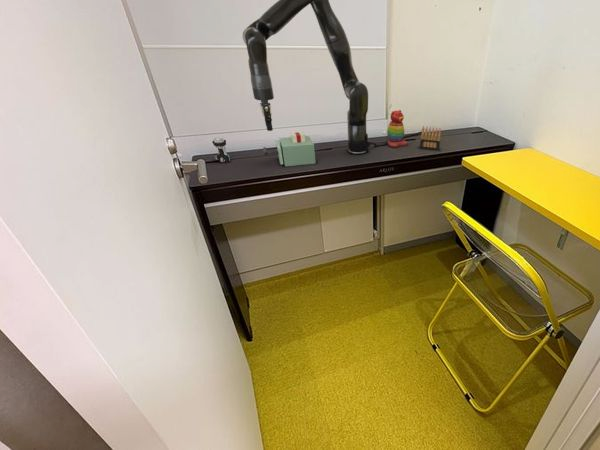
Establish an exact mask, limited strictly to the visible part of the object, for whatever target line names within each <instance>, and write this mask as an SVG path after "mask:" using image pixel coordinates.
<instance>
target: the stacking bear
mask: <svg viewBox="0 0 600 450" xmlns="http://www.w3.org/2000/svg"><path fill="white" fill-rule="evenodd" d="M404 118H405V115H404V114H403V112H402V110H401V109H399V110H393V111H391V113H390V122H389V124H388V125H387V130H386V131H387V132H386V134H387V140H386V141H387V142H388V144H387V146H389V147H391V148H398V147H402V146H403V147H405V146H407V145H408V142H407V141H406V139H405V140H404V138H403V137H404V136H405V125H404V123H403V121H404ZM387 142H386V143H387Z"/></svg>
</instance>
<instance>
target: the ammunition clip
mask: <svg viewBox="0 0 600 450" xmlns="http://www.w3.org/2000/svg"><path fill="white" fill-rule="evenodd" d="M421 132H422V133H420V141H419V142H420V143H419V149H422V150H423V149H424V150H431V151H440V144H441V137H442V136H441V135H442V128H441V127H439V129H438V127H436V128H435V127H434V126H433V127H431V126H429V127H428V126H426V127H425V126H424V125H423V126H422V128H421Z"/></svg>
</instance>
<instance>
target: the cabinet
mask: <svg viewBox="0 0 600 450" xmlns="http://www.w3.org/2000/svg"><path fill="white" fill-rule="evenodd" d="M278 139H279V140H278V141H279V144H280V147H281V152H282V158H283V166H284V167H286V168H287V167H295V166H303V165H304V166H305V165H315V164H316V162H317V160H316V153H315V152H316V151H315V144H314V142H313V140H312V138H311V137H310V136H309V135H305V141H306V142H300V143H293V142H292V140H291V136H290V137H279V138H278Z"/></svg>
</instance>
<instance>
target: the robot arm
mask: <svg viewBox="0 0 600 450" xmlns="http://www.w3.org/2000/svg"><path fill="white" fill-rule="evenodd" d="M309 5H310V6H311V9H312V10H313V12H314V15H315V18H316V21H317V24H318V26H319V29H320V32H321V34H322V37H323V39H324V42H325V45H326V48H327V50H328V53H329V55H330V57H331V60H332V62H333V64H334V66H335V69H336V70H337V72H338V76H339V78H340V82H341V85H342V89H343V92H344V96H345V97H346V98H347V99H348V101H349V105H348V107H349V108H348V110H347V111H346V119H347V151H348V153H349V154H352V155H363V154H366V153H368V152H369V148H371V145H374V147H383V146H386V145H388V142H384V143H379V144H377V143H376V142H375V141H374V142H373V141H370V140H369V134H368V133H367V114H368V112H369V111H368V110H369V90H368V87H367V86H366V84H365V83H362V82H361V81H359V78H358V76H357V74H356V72H355V68H354V66H353V58H352V57H353V56H352V49H351V46H350V45H351V44H350V42H349V40H348V39H349V38H348V36H347V34H346V31H345V29H344V27H343V25H342V23H341V21H340V20H339V19H338V17H337V15H336V14H335V12H334V10H333V8H332V6H331V3H330V0H277V1H276V2H275V3H273V4H272V5H271V6H270V7H269V8H267V10H266V11H264V12H263V14H262V15H261V16H260V17H259V18H257V19H256V20H255V21H253V22H252V23H250V24H249V25H247V27H246V28H244V30H243V31H242V40H243V43H244V44H245V46H246V50H247V56H248V60H247V62H248V69H249V73H250V83H251V88H252V93H253V98H254V100H256V101H260V102H259V106H260V109H261V113H262V117H264V123H265V127H266V131H267V132H272V131H273V130H274V128H273V124H272V123H273V122H272V121H273V118H272V114H273V113H272V105H271V102H269V101H271V100H274V98H275V96H274V89H273V83H272V78H271V75H270V68H269V63H268V47H267V40H268V39H270V37H272V36H275V35H276V34H278V33H279V32H280V31H281V30H282V29H284V28H285V27H286V25H288V24H289V22H291V21H292V20H293V19H294V18H295V17H296V16H297V15H298V14H299V13H300V12H301V11H302V10H304V9H305V8H306V7H307V6H309ZM421 133H422V131H418V132H415V133H411V134H406V135H404V137H403V139H405V138H408V137H412V136H413V137H414V136H418V135H419V134H420V135H421Z"/></svg>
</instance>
